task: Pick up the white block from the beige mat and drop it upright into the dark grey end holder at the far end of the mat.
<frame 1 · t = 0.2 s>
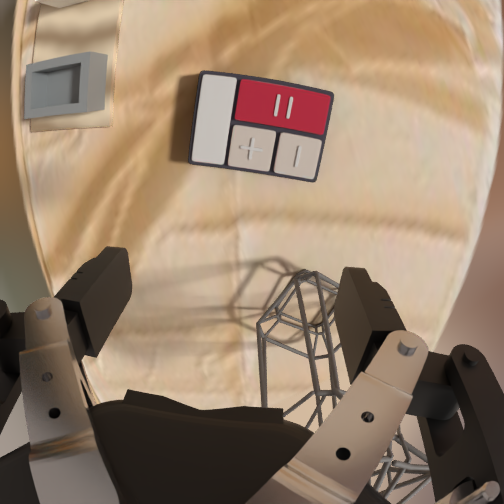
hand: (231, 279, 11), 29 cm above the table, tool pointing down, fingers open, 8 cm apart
end holder: (73, 85, 32), resting on beige mat
geometric lantern: (309, 304, 47), on the table
beige mat: (75, 35, 30), on the table
calculator: (260, 123, 36), on the table
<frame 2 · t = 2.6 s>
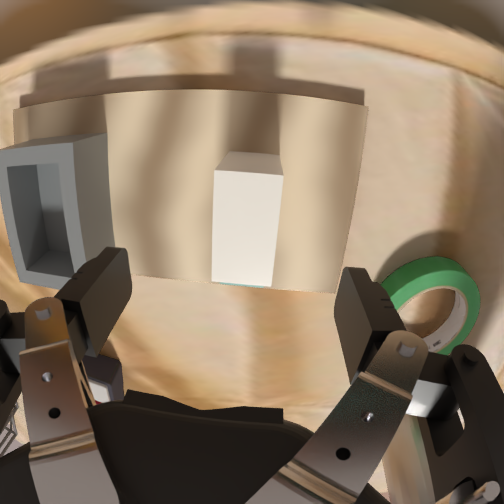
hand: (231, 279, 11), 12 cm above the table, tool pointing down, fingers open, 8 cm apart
tape roll: (418, 307, 26), on the table
end holder: (71, 201, 22), resting on beige mat
white block: (251, 197, 21), point 1 cm above the table, touching beige mat
beige mat: (161, 187, 22), on the table
calculator: (88, 383, 34), on the table
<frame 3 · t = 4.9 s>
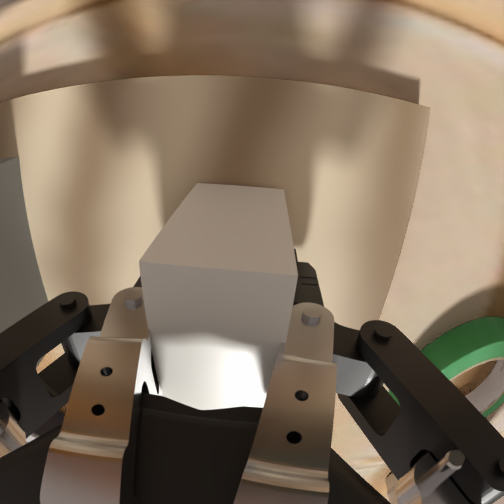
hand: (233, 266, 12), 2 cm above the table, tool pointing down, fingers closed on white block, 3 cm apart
tape roll: (454, 372, 18), on the table
white block: (235, 258, 13), point 1 cm above the table, touching gripper
beige mat: (100, 234, 14), on the table
calculator: (57, 432, 26), on the table
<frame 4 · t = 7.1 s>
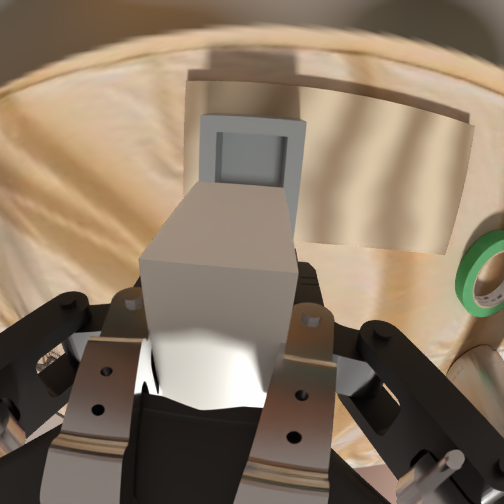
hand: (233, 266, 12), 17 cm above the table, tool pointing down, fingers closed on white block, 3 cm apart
tape roll: (487, 268, 32), on the table
end holder: (251, 174, 27), resting on beige mat
white block: (236, 256, 13), point 17 cm above the table, touching gripper
beige mat: (336, 169, 27), on the table
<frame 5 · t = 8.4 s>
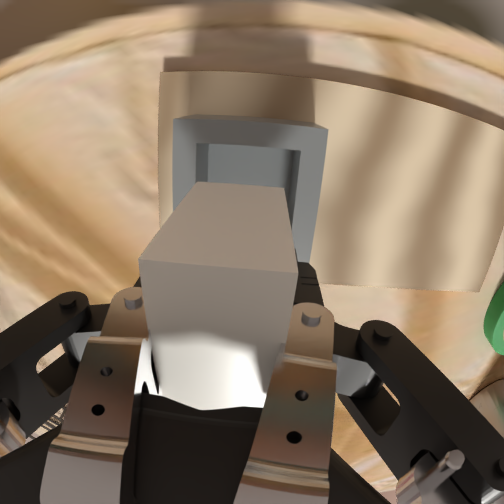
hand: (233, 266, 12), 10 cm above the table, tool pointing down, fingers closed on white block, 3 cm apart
end holder: (248, 197, 20), resting on beige mat
white block: (235, 256, 13), point 9 cm above the table, touching gripper
beige mat: (359, 190, 21), on the table
when the fingers open (7 cm above the table, at t = 9.6 s): white block drops 5 cm, resting on end holder.
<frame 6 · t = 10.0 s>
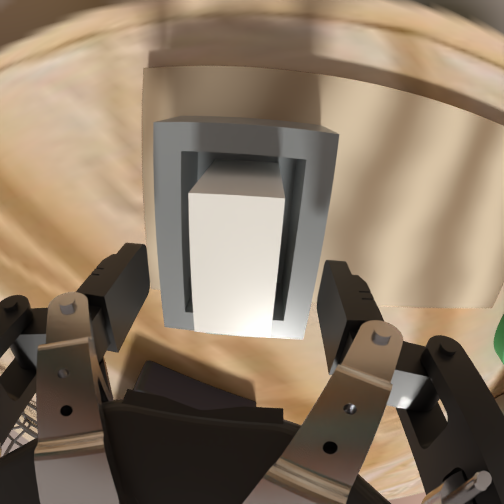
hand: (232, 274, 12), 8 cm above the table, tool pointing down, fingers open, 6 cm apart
end holder: (244, 210, 18), resting on beige mat
geometric lantern: (39, 418, 35), on the table
white block: (244, 215, 17), point 2 cm above the table, touching end holder
beige mat: (369, 201, 18), on the table
calculator: (178, 413, 30), on the table
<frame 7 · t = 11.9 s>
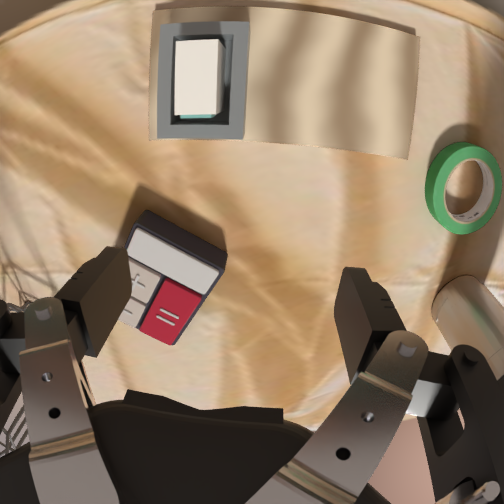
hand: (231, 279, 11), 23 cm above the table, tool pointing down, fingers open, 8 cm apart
tape roll: (458, 184, 32), on the table
end holder: (208, 80, 27), resting on beige mat
geometric lantern: (40, 324, 44), on the table
white block: (207, 80, 26), point 2 cm above the table, touching end holder
beige mat: (287, 75, 27), on the table
calculator: (162, 276, 39), on the table
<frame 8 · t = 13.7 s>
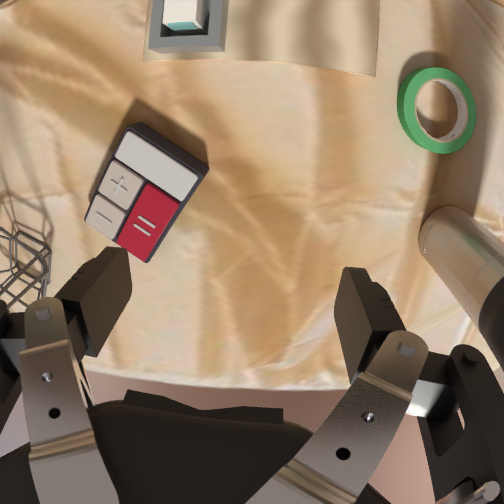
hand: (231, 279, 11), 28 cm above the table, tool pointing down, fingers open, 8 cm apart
tape roll: (432, 109, 33), on the table
end holder: (195, 12, 28), resting on beige mat
geometric lantern: (29, 257, 45), on the table
white block: (194, 10, 27), point 2 cm above the table, touching end holder
beige mat: (262, 8, 28), on the table
calculator: (146, 190, 40), on the table
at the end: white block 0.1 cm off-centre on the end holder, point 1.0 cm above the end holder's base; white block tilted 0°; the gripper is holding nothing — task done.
